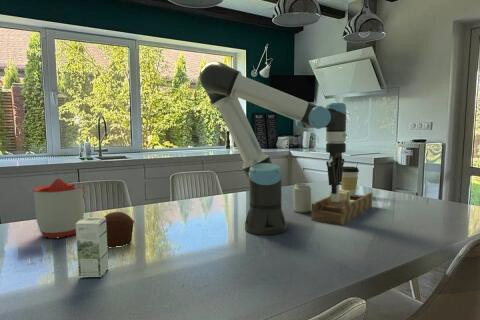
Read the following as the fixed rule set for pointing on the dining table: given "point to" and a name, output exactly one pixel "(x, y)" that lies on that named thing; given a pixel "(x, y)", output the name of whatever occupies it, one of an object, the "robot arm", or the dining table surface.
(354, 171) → the coffee cup
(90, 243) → the syrup box
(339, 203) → the maple block
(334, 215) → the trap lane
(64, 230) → the citrus juicer
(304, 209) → the can
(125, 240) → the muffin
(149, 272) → the dining table surface
